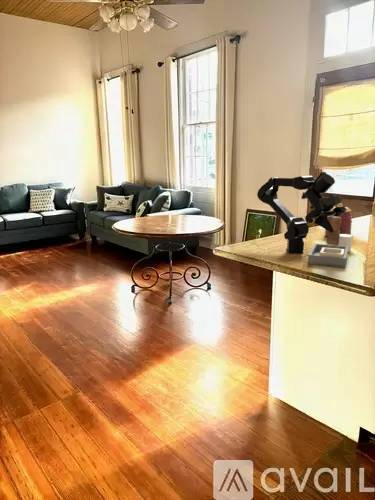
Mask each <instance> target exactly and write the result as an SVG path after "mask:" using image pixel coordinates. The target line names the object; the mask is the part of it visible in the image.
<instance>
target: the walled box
mask: <svg viewBox="0 0 375 500" xmlns="http://www.w3.org/2000/svg"><path fill="white" fill-rule="evenodd" d="M348 254H349V251H348V246H339V247H338V248H329V247H327V243H325V244H324V243H313V246H312V248H311V249H310V251H309V253H308V254H307V255H308V257H307V265H310V266H311V265H312V266H321V267H330V268H338V269H339V268H341V269H345V268H346V265H347V260H348V256H349V255H348Z"/></svg>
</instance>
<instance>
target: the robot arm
mask: <svg viewBox="0 0 375 500" xmlns="http://www.w3.org/2000/svg"><path fill="white" fill-rule="evenodd" d="M335 182H336V180H335V178H334V177H333V176H331V175H330V174H328V173H326V171H321V172H320V173H319V175H317V177H316V178H314V176H313V175H303V176H300V175H299V176H296V177H279V176H276V177H275V176H273V177H270V178H269V179H268V180H267V181H266V182H265V183H264V184H262V186H261V187H260V188H259V189H258V191H257V193H256V196H257V200H259V201H260V202H262V203H264V204H266V205H269V206H270V207H271V208H272V210H273V211H274V212H275V214H277V215H278V216H279V218H280V219H281V220H282V221H283V223H285V224H286V230H287V231H286V232H284V234H283V236H284V239H285V240H287V242H286V243H287V244H286V245H287V246H286V248H285V251H286V252H287V253H288V254H304V250H305V249H304V248H305V242H304V239H307V235H308V234H309V230H310V229H309V228H310V226H309V225H308V224H310V223H311V224H312V223H313V224H315V225H318V226H319V227H321V228H323V229H324V230H325V229H326V230H328V231H329V232H331V233H332V232H333V228H332V226H331V225H330V223H329V220H328V219H327V216H328V217H330V216H337V217H340V216H341V215H342V214H343V213H344V212H345V211H347V210H346V208H345V207H346V206H344V205H343V206H336V205H338V204H340V203H342V201H343V197H342V196H341V194H339V193H336V194H335V195H334V194H333V195H332V196H329V197H324V196H323V194H326V192H328V191H329V190H330V189H331V188H332V187H333V185H334V184H336V183H335ZM279 187H291V188H293V189H296V190H299V191H303V190H306V191H305V192H302V194H301V200H304V199H305V200H306V199H307V201H308V202H309V204H310V206H309V208H310V211H309V212H308V213H307V214H306V215H305V217H304V218H303V217H302V216H300V217H299V216H298V217H296V216H295V215H293V213H292V211H290V210H289V209H288V208H287V207H286V205H284V204H283V203H282V202H281V200H280V199H279V198H278V192H279ZM333 207H335V208H334V209H333V210H331V209H332V208H333ZM341 230H342V227H340V231H341Z"/></svg>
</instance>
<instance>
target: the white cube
mask: <svg viewBox="0 0 375 500" xmlns="http://www.w3.org/2000/svg"><path fill="white" fill-rule="evenodd" d="M353 240H354V235H353V234H351V235H350V234H340V238H339V246H348V252H351V251H352V245H353Z"/></svg>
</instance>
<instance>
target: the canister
mask: <svg viewBox="0 0 375 500" xmlns="http://www.w3.org/2000/svg"><path fill="white" fill-rule="evenodd" d="M336 205H337V206H344V205H343V203H342V202H341V203H340V204H336ZM337 206H334V207H333V208H332V209H331V210H333V209H334V208H335V207H337ZM344 207H345V208H346V210H347V211H345V212H344V213H343V214H342V215H341V216H340V217H341V227H342V230H341V231H340V234H350V235H352V225H353V224H352V222H353V220H352V217H353V215H354V214H353V213H352V209H351V208H349V207H348V206H344ZM327 219H328V220H329V217H328V216H327ZM327 235H328V230H326V229H324V236H325V237H326V238H327Z"/></svg>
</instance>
